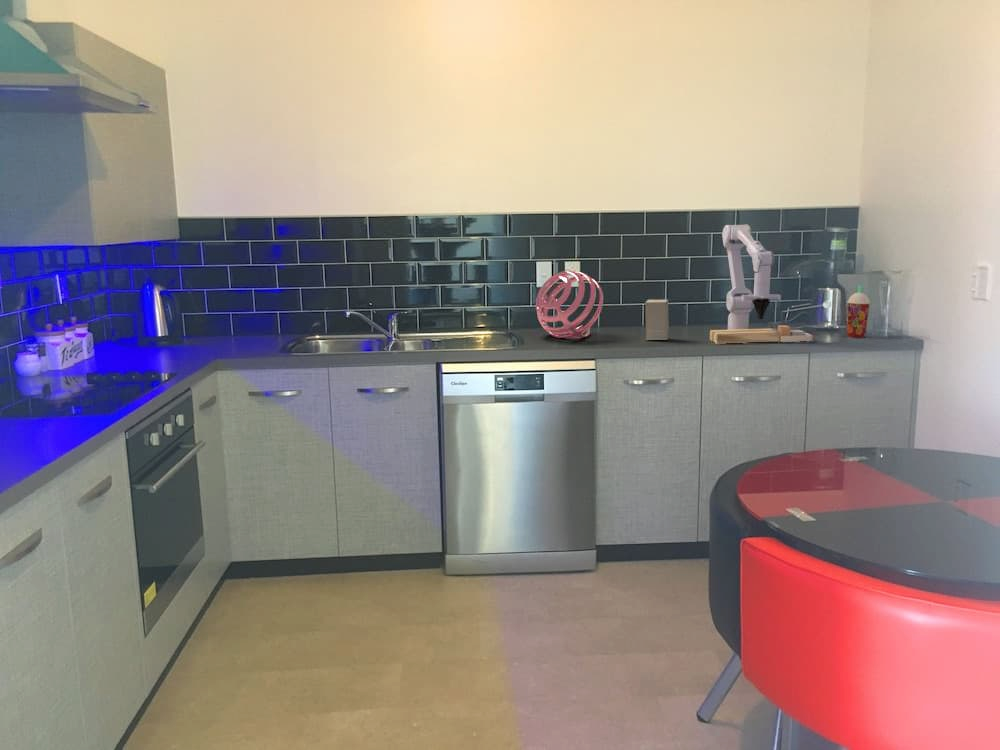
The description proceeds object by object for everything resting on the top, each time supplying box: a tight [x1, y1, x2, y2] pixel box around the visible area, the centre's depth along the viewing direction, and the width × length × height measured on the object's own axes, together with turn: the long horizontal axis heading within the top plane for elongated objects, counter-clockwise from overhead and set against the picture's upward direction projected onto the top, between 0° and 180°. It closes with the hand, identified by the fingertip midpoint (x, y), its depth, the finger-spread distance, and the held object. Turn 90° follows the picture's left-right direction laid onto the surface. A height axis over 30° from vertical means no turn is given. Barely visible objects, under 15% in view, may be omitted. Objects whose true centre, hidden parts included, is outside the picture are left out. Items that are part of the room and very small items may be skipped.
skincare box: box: [644, 299, 670, 341], centre depth 328 cm, size 8×7×16 cm
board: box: [709, 328, 780, 345], centre depth 323 cm, size 9×24×4 cm, turn 93°
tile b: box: [790, 329, 806, 336], centre depth 324 cm, size 5×5×3 cm
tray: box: [779, 332, 814, 343], centre depth 324 cm, size 11×12×2 cm
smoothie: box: [846, 285, 871, 339], centre depth 327 cm, size 8×8×20 cm
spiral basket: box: [535, 270, 604, 340], centre depth 338 cm, size 28×28×27 cm
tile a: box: [777, 324, 792, 339], centre depth 323 cm, size 5×5×3 cm
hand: (760, 318), depth 322 cm, fingers closed
